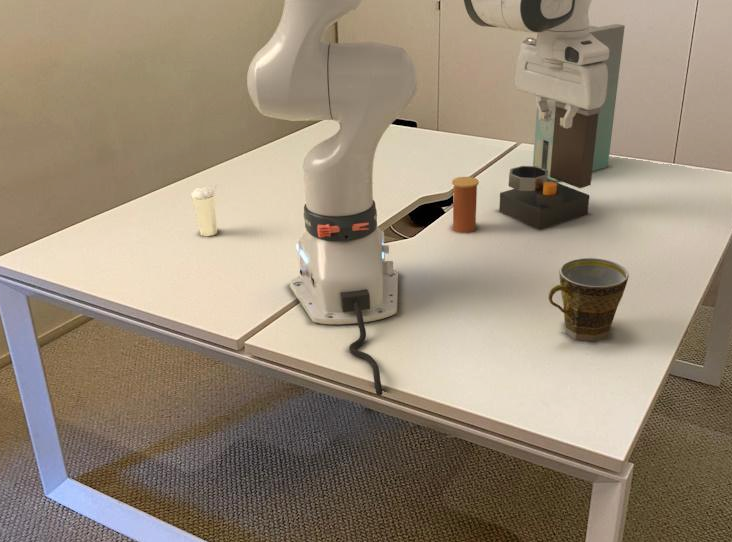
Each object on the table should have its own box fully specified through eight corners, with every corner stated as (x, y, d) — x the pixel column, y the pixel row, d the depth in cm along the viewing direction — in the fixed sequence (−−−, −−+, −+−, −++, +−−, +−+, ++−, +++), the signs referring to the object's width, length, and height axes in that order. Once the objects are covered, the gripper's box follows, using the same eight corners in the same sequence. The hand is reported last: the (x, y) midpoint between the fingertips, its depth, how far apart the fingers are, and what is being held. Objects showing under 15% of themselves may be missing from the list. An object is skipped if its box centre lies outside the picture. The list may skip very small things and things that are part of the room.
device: (583, 158, 198) (598, 20, 181) (608, 166, 192) (625, 25, 176) (531, 172, 190) (541, 30, 174) (555, 182, 185) (568, 36, 168)
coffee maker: (501, 183, 168) (505, 107, 160) (550, 169, 174) (556, 96, 166) (542, 200, 160) (548, 121, 151) (591, 185, 166) (600, 108, 157)
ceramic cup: (591, 310, 135) (598, 252, 130) (634, 336, 128) (643, 276, 122) (525, 330, 130) (529, 271, 125) (566, 359, 123) (572, 298, 117)
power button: (539, 193, 164) (540, 183, 162) (549, 190, 165) (550, 180, 164) (549, 197, 162) (549, 187, 161) (559, 194, 163) (559, 184, 162)
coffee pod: (479, 231, 163) (481, 184, 158) (454, 234, 162) (455, 186, 157) (473, 222, 167) (474, 175, 162) (448, 224, 167) (449, 177, 161)
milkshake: (219, 238, 164) (212, 189, 159) (193, 237, 165) (185, 187, 160) (227, 229, 168) (220, 180, 162) (202, 228, 169) (194, 179, 163)
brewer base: (499, 211, 172) (500, 182, 168) (546, 197, 177) (548, 169, 174) (541, 230, 163) (543, 200, 159) (589, 215, 168) (593, 186, 165)
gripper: (509, 38, 154) (505, 114, 162) (590, 56, 140) (581, 139, 147) (535, 33, 157) (529, 109, 164) (617, 51, 142) (607, 133, 150)
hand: (555, 123), depth 156 cm, fingers open, 4 cm apart
